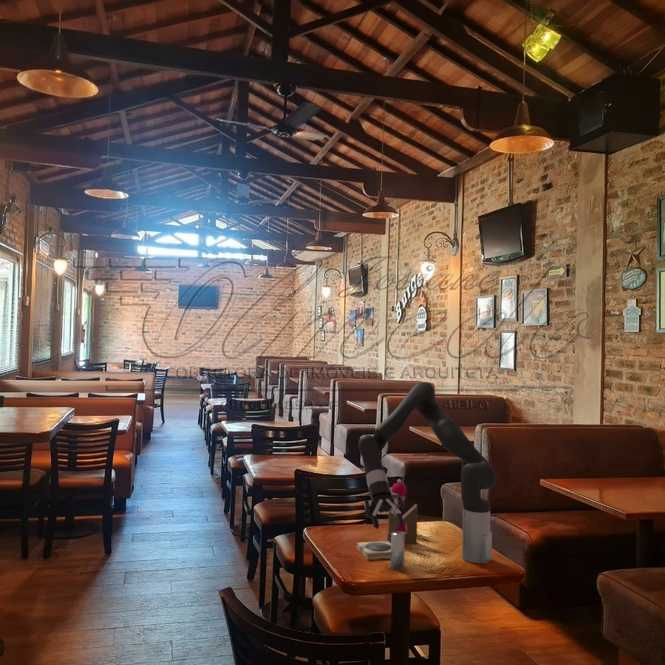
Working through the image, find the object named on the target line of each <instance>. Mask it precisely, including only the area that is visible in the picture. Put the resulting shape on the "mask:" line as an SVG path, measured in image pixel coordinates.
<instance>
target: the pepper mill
mask: <svg viewBox="0 0 665 665" xmlns="http://www.w3.org/2000/svg"><path fill="white" fill-rule="evenodd" d="M402 482H403V480H401V479H400V478H398V479H397V482H395V483H394V484H393V485H392V487H391V493H397V494H398V495H399V497H401V499H402V502H403V505H404V506H405V500H406V495H405V494H407V490H408V489H407V487H406V486H407V485H405V484H404V483H402ZM398 509H399V508H398ZM405 513H407V511H406V509H405ZM405 513H404V514H405ZM402 516H403V515H402ZM403 530H405V531H406V524H402V526H401V527H399V525H398V531H402V532H404V531H403Z"/></svg>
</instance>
